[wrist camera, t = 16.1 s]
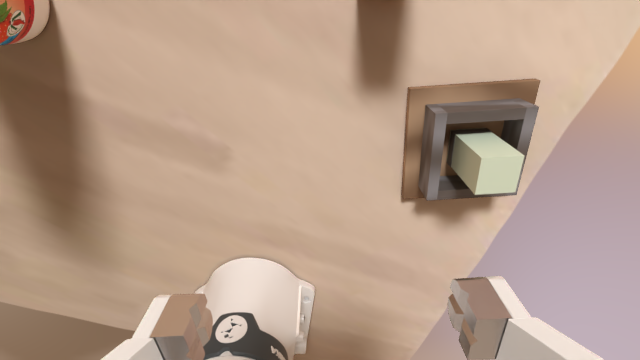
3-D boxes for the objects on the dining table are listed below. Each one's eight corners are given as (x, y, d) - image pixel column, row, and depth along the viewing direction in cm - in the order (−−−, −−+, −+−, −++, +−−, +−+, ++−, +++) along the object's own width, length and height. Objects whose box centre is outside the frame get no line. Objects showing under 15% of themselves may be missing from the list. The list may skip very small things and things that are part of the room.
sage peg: (485, 127, 38) (525, 155, 30) (479, 159, 39) (515, 192, 32) (450, 129, 38) (481, 157, 31) (446, 161, 40) (474, 195, 32)
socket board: (508, 188, 43) (528, 207, 39) (401, 195, 43) (410, 214, 39) (534, 78, 36) (561, 87, 32) (408, 87, 36) (419, 97, 32)
